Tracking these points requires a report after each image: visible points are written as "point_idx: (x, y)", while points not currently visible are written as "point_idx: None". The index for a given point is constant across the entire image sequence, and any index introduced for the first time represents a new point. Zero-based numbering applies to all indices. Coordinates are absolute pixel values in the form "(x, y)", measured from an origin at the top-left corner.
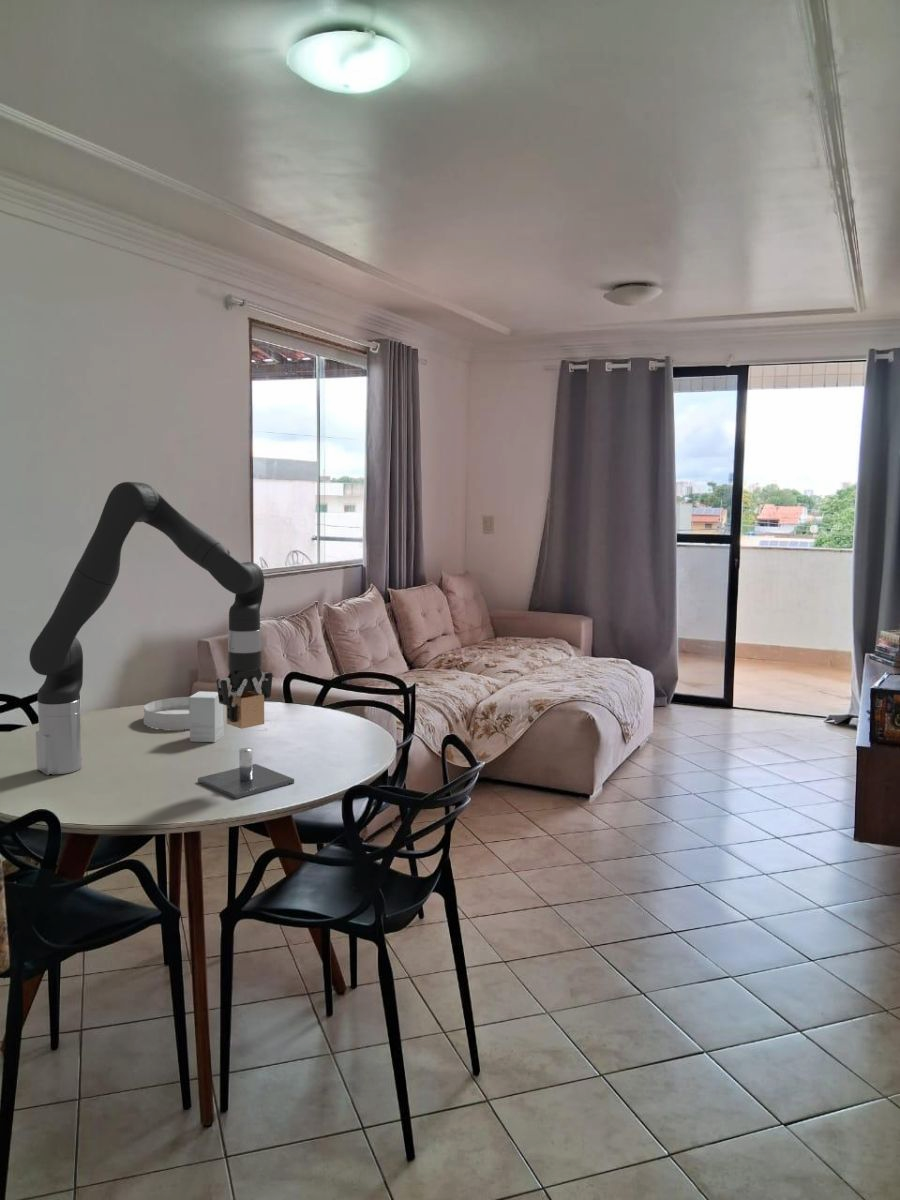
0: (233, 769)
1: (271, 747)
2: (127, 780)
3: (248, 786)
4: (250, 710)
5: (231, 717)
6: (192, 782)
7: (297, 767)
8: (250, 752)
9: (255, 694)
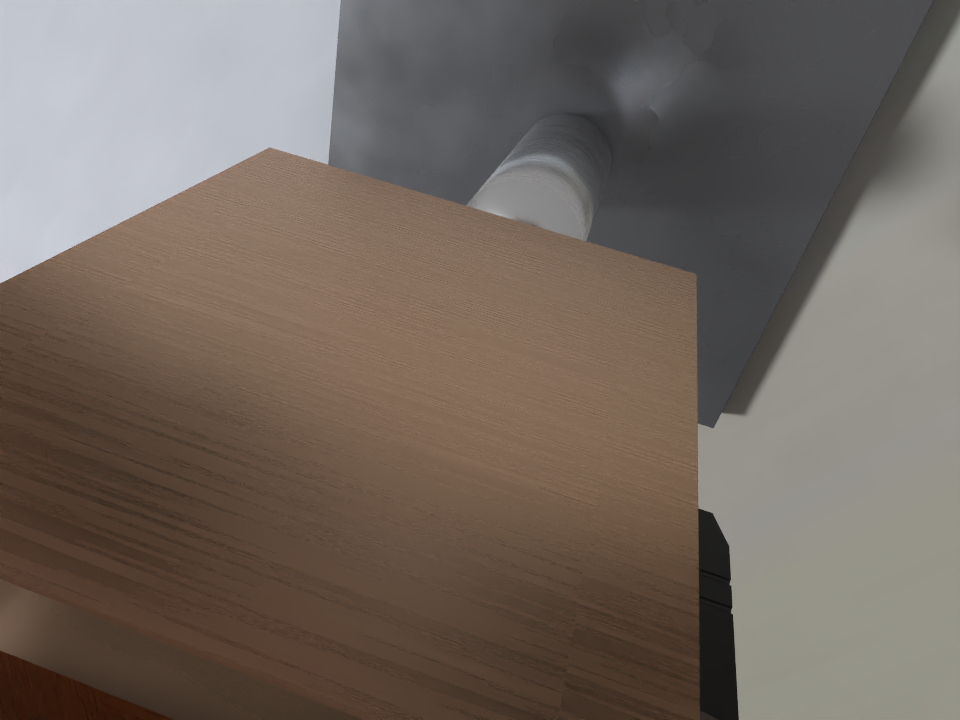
0: None
1: None
2: (848, 688)
3: (712, 6)
4: (429, 370)
5: (712, 549)
6: (731, 433)
7: (148, 68)
8: (524, 174)
9: None
